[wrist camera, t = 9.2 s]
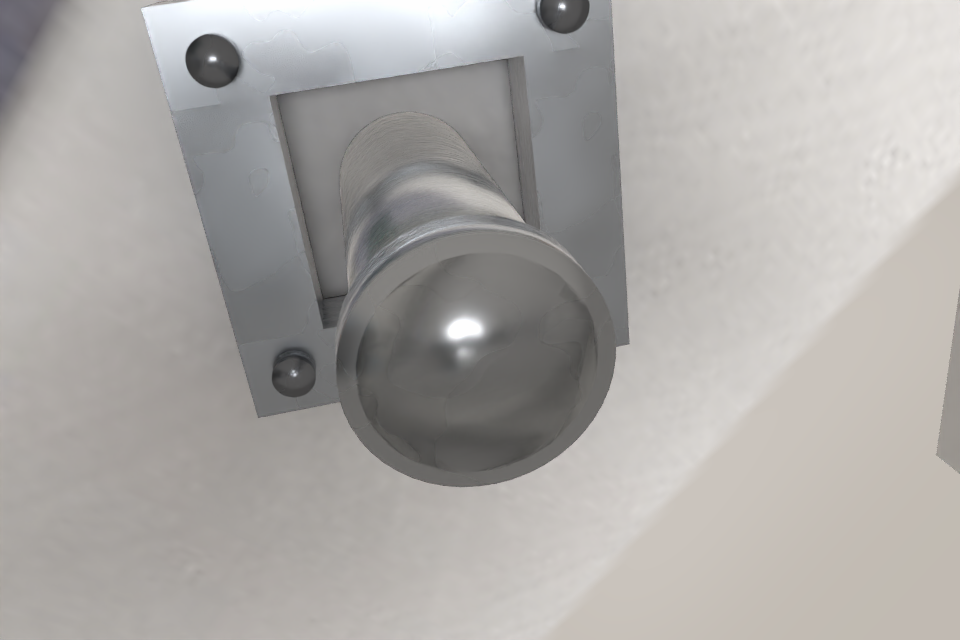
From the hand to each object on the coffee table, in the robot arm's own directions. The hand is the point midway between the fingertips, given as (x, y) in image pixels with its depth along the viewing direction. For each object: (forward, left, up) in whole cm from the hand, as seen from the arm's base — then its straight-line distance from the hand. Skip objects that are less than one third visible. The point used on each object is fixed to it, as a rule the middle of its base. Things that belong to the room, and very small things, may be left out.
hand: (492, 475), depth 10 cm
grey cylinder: (0, 0, -15) cm, 15 cm away
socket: (0, 0, -15) cm, 15 cm away
